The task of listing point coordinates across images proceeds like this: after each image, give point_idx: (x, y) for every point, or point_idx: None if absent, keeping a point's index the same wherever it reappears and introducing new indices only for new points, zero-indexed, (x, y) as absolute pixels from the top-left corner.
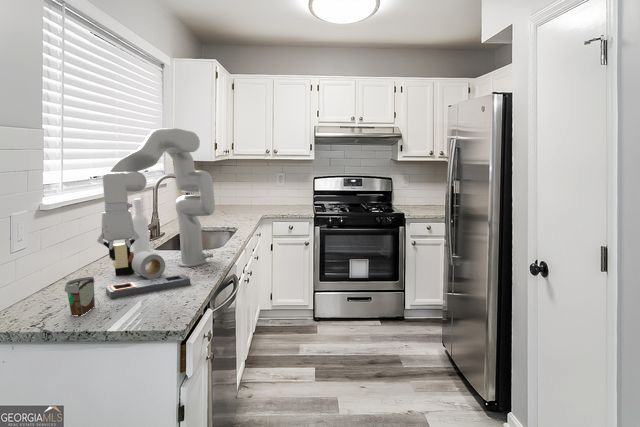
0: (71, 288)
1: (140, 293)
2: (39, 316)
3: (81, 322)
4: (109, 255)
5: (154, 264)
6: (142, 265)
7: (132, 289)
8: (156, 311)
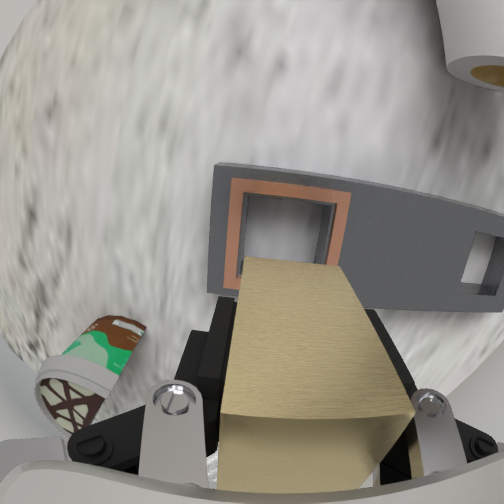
0: (63, 429)
1: None
2: (24, 290)
3: (117, 405)
4: (188, 343)
5: None
6: (477, 59)
7: None
8: None
